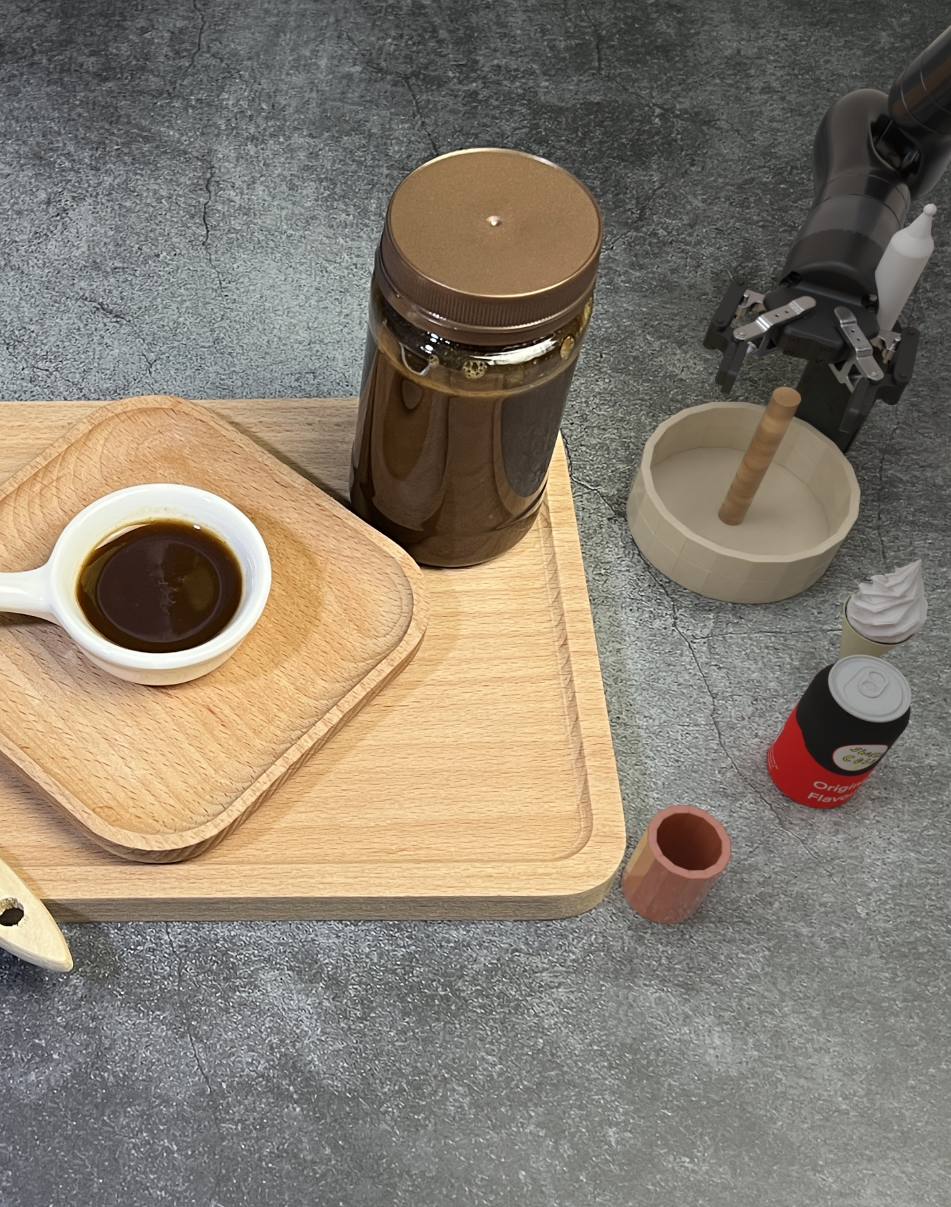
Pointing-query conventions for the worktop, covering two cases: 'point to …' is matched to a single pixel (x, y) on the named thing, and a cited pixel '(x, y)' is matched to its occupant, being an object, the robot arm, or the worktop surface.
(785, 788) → the beverage can
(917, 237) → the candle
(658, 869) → the utensil cup
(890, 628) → the ice cream cone
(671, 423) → the bowl
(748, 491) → the stirring stick
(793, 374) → the worktop surface
